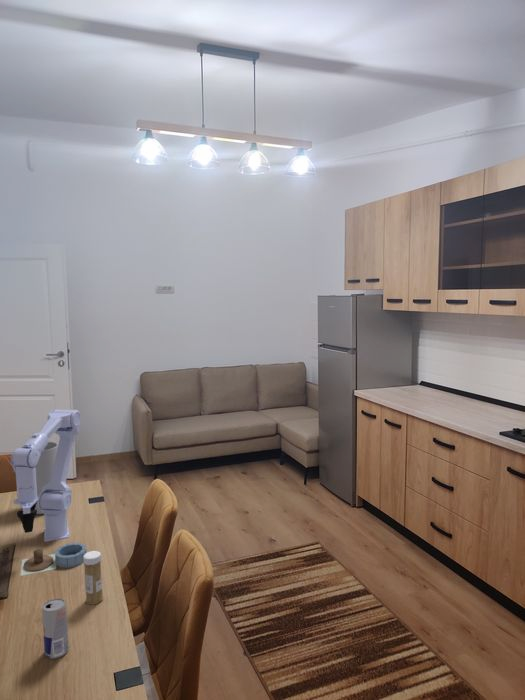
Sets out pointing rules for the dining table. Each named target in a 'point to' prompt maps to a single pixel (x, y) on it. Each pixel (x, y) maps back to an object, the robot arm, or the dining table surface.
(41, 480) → the cylinder vase
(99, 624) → the dining table surface
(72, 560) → the bowl
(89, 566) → the sprinkles bottle
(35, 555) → the lid
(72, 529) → the dining table surface
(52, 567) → the mat
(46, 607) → the energy drink
